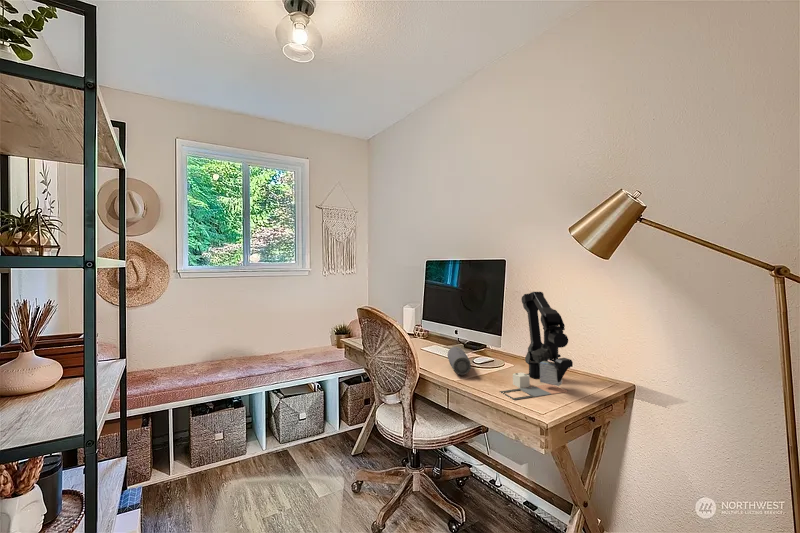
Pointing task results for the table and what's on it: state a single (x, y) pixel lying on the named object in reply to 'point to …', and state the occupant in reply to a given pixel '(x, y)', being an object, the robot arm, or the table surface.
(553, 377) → the medicine box
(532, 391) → the game mat
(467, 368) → the bluetooth speaker
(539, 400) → the table surface
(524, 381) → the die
